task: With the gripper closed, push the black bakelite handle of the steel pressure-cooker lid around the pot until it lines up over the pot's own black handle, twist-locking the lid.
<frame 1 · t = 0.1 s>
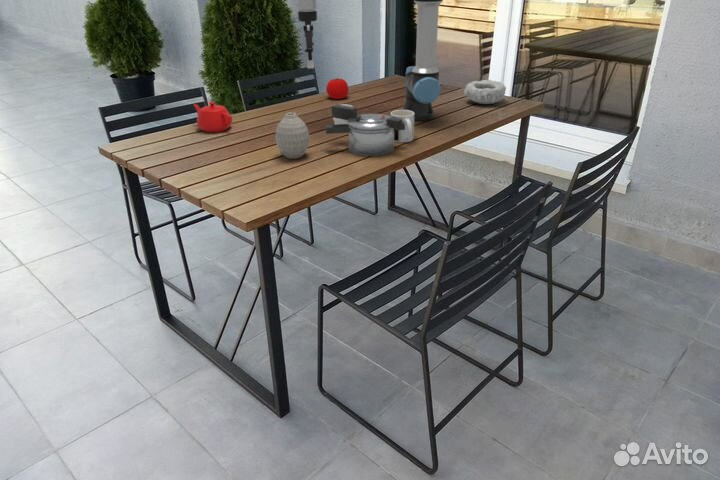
hand: (310, 65, 229), 28 cm above the table, fingers open, 13 cm apart
lid: (365, 116, 214), point 13 cm above the table, hinge at -40.0°
tomato: (337, 98, 291), on the table
teapot: (214, 129, 247), on the table
bowl: (484, 103, 277), on the table
pot: (371, 148, 219), on the table
mug: (402, 140, 228), on the table
cup: (341, 128, 243), on the table
vase: (294, 156, 213), on the table
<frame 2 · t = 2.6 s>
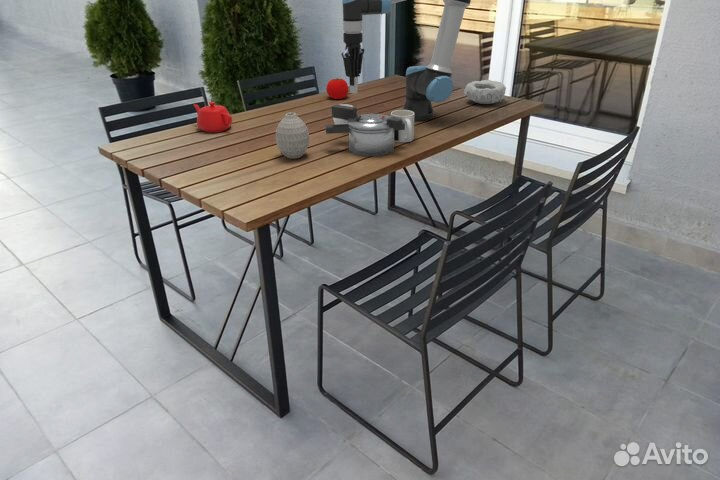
hand: (353, 92, 224), 18 cm above the table, fingers closed
nothing on the table moved.
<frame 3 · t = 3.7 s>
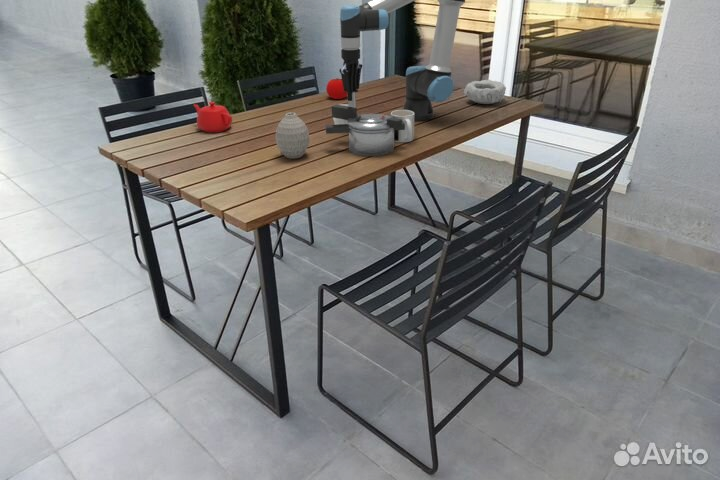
hand: (351, 107, 226), 13 cm above the table, fingers closed
nothing on the table moved.
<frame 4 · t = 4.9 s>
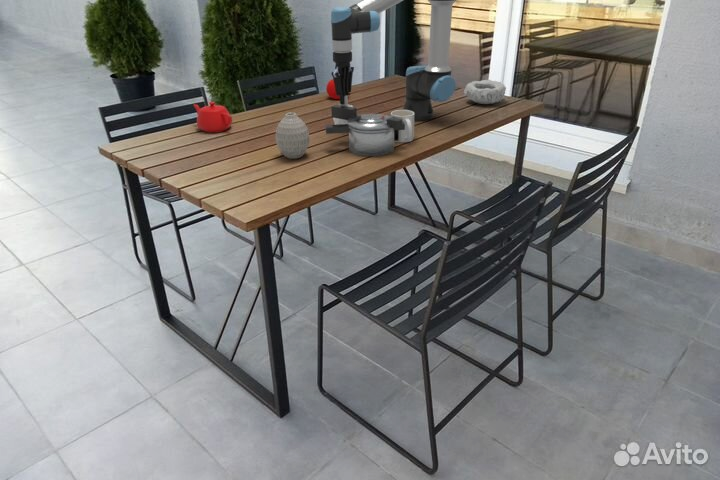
hand: (344, 111, 222), 12 cm above the table, fingers closed
lid: (365, 116, 214), point 13 cm above the table, hinge at -39.4°, touching gripper
everything else where it was.
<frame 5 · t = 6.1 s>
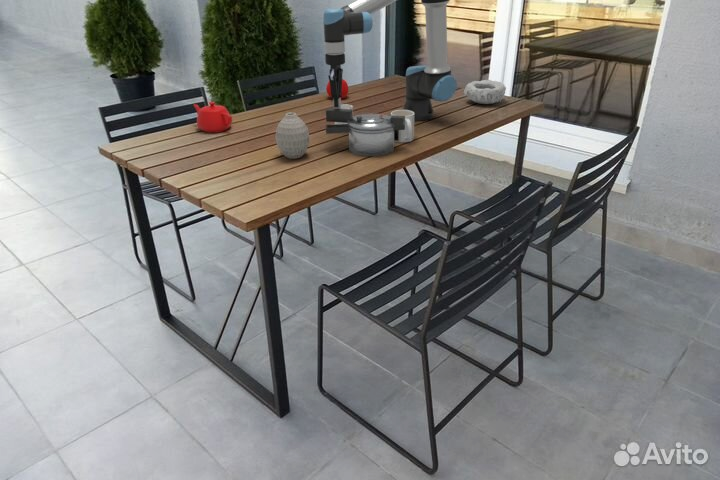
hand: (337, 114, 218), 12 cm above the table, fingers closed
lid: (365, 117, 213), point 13 cm above the table, hinge at -20.6°, touching gripper
everything else where it was.
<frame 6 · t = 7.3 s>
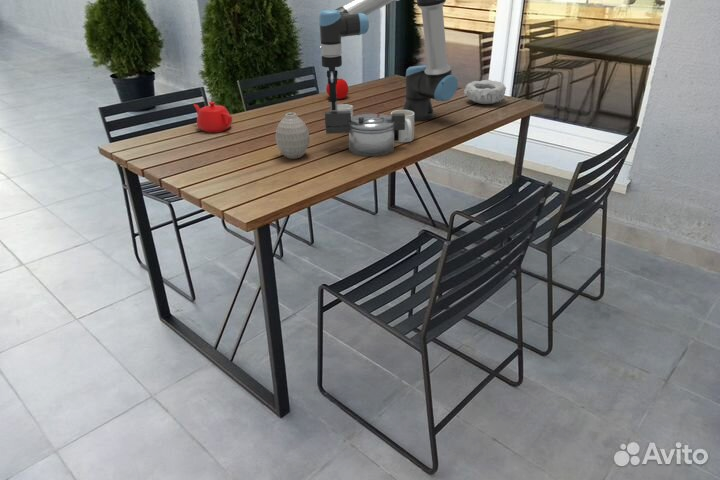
hand: (334, 117, 215), 12 cm above the table, fingers closed
lid: (364, 117, 213), point 13 cm above the table, hinge at -4.4°, touching gripper
everything else where it was.
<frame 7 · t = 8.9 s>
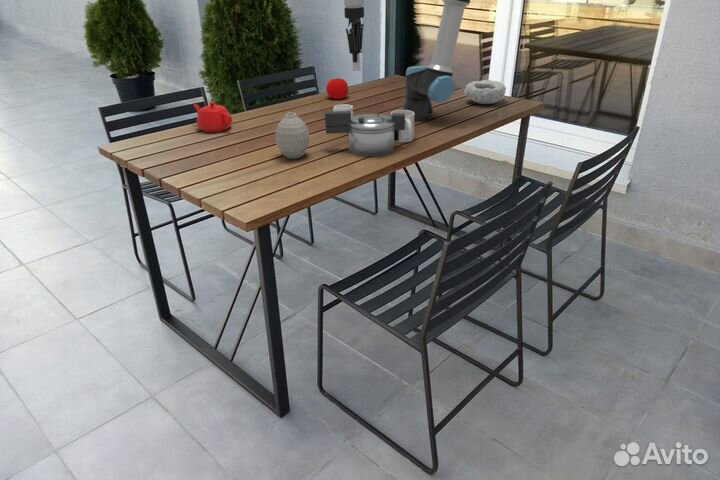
hand: (356, 70, 218), 28 cm above the table, fingers closed
lid: (364, 117, 213), point 13 cm above the table, hinge at -4.3°
everything else where it was.
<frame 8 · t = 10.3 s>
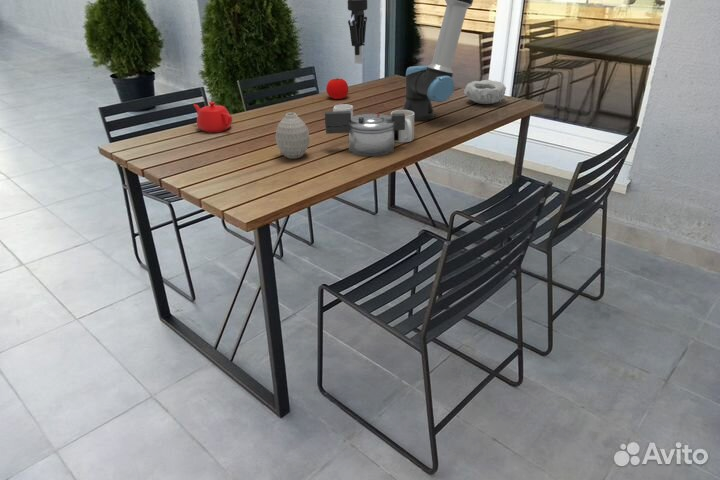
hand: (358, 63, 218), 30 cm above the table, fingers closed
nothing on the table moved.
at the end: lid at -4° (first picture: -40°); lid touching nothing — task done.
